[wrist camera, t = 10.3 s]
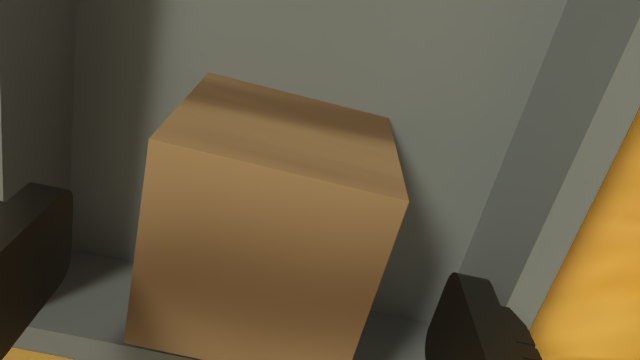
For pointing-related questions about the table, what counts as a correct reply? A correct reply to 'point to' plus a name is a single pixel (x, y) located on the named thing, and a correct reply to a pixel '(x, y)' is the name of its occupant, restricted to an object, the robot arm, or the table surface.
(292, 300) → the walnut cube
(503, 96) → the tote
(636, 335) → the table surface
